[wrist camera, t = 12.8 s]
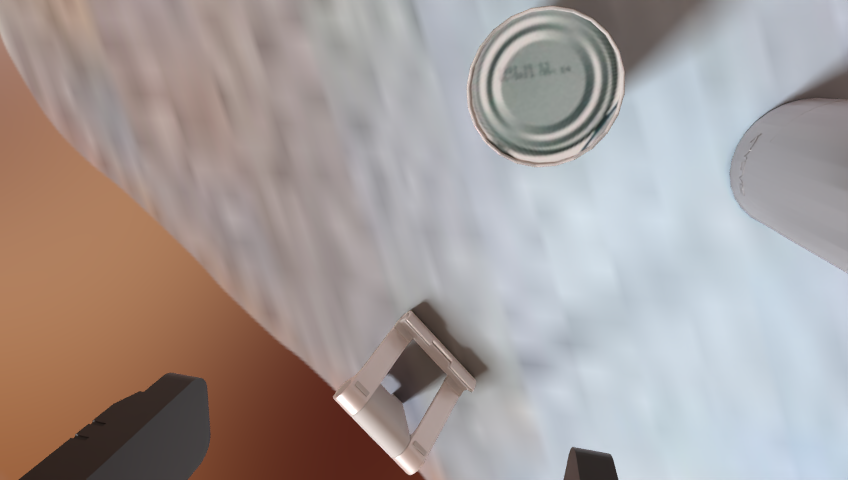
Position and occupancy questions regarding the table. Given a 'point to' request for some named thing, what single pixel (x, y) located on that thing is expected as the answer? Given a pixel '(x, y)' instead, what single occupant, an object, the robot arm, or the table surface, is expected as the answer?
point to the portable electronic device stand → (386, 411)
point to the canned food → (545, 86)
